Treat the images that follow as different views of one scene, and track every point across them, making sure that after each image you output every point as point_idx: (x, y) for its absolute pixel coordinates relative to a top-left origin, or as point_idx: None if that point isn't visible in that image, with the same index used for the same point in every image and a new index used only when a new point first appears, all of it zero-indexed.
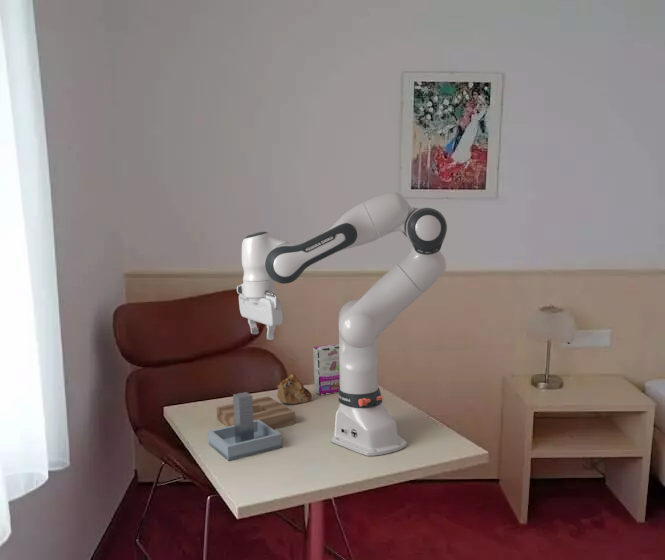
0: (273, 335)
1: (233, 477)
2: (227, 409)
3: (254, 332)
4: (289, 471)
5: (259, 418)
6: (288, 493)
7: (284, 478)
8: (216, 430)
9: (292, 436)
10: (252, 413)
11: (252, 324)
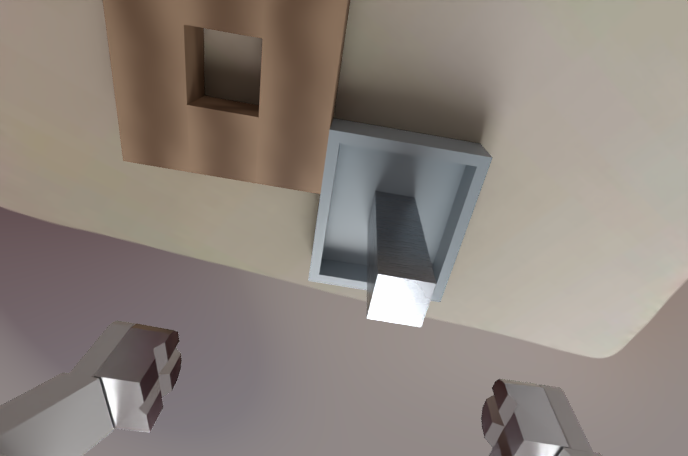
0: (579, 425)
1: (510, 312)
2: (168, 148)
3: (171, 377)
4: (605, 220)
5: (320, 121)
6: (674, 285)
7: (619, 250)
8: (319, 265)
9: (439, 57)
10: (425, 245)
11: (53, 451)
